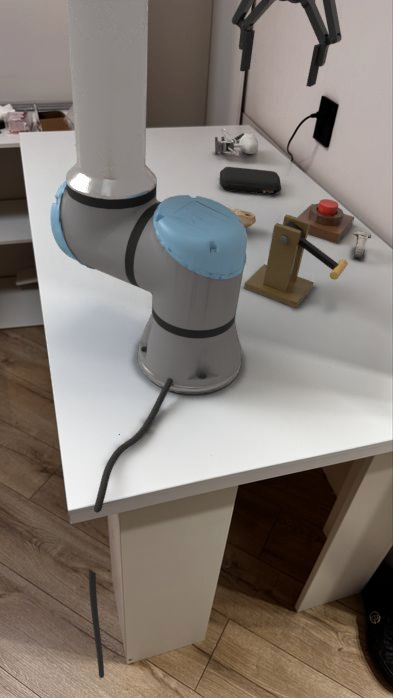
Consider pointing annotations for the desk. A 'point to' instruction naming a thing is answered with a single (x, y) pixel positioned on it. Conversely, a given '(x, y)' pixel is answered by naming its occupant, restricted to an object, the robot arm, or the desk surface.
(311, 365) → the desk surface
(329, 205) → the button
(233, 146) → the clip-on lamp
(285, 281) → the bracket
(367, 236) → the wristwatch
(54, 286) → the desk surface
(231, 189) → the carrying case
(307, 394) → the desk surface
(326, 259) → the pivoting switch lever
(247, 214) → the pottery oil lamp
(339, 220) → the switch block
